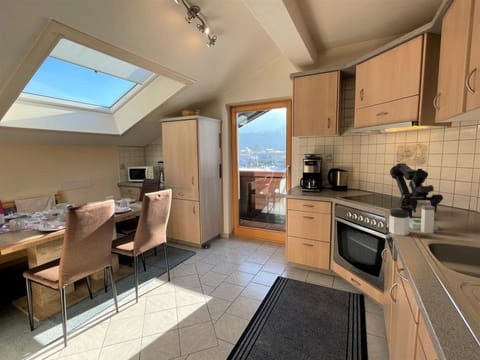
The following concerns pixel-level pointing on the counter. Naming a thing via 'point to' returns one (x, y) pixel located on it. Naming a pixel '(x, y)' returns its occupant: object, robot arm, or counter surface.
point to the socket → (418, 224)
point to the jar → (399, 222)
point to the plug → (427, 218)
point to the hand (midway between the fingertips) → (425, 212)
